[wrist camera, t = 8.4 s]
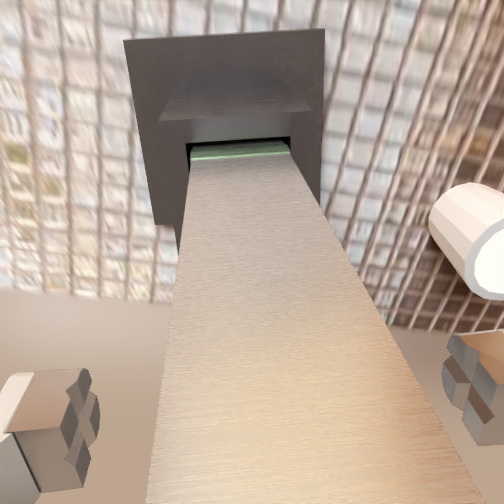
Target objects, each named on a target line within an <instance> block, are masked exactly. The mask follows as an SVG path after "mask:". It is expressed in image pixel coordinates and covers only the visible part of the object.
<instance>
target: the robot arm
mask: <svg viewBox="0 0 504 504" xmlns="http://www.w3.org/2000/svg"><path fill="white" fill-rule="evenodd" d="M447 349H448V350H449V352H450V353H451V356H450V357H449V358H448V359H447V360H446V361H445V362H444V363H443V368H442V381H443V387H444V390H445V392H446V395H447V397H448V398H449V400H450V402H451V403H452V404H453V405H454V406H456V407H457V408H459V409H460V410H462V411H464V413H463V418H462V421H463V423H464V424H465V426H466V428H467V429H468V431H469V432H470V434H471V436H472V437H473V439H474V440H475V442H476V444H477V445H478V446H488V445H500V444H501V445H502V444H504V329H497V330H490V331H480V332H470V333H459V334H452V336H451V337H450V338H449V341H448V345H447ZM91 382H92V380H91V377H90V374H89V371H88V370H87V369H85V368H77V369H63V370H49V371H38V372H26V373H15V374H13V375H12V376H10V377H9V378H8V380H7V382H6V384H5V385H4V387H3V389H2V391H1V392H0V504H34V503H35V502H36V501H37V500H38V498H39V497H40V493H47V492H54V491H61V490H69V489H77V488H83V485H84V482H85V478H86V475H87V471H88V467H89V464H90V460H91V457H90V453H89V450H88V447H89V446H90V445H91V444H92V443H93V442H94V441H95V440H96V438H97V434H98V430H99V422H100V410H99V403H98V399H97V396H96V395H95V394H93V393H92V392H91V391H89V389H90V385H91Z"/></svg>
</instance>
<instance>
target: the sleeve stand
mask: <svg viewBox="0 0 504 504" xmlns="http://www.w3.org/2000/svg"><path fill="white" fill-rule="evenodd" d="M123 42H124V48H125V54H126V60H127V65H128V71H129V77H130V83H131V89H132V95H133V100H134V106H135V112H136V118H137V124H138V129H139V135H140V141H141V147H142V153H143V159H144V164H145V170H146V176H147V182H148V188H149V193H150V199H151V205H152V211H153V217H154V222H155V225H161V224H174V230H175V237H176V243H177V250H178V256H179V249H180V241H181V234H182V227H183V219H184V212H185V204H186V197H187V189H188V182H189V175H190V167H191V161H190V156H191V150H193V145H194V142H208V141H223V140H237V139H252V138H267V137H281V139H282V140H283V142H284V144H287V146H288V148H289V150H290V151H291V156H292V158H293V160H294V162H295V164H296V165H297V167H298V169H299V171H300V173H301V174H302V176H303V178H304V180H305V181H306V183H307V185H308V187H309V189H310V190H311V192H312V194H313V196H314V197H315V199H316V201H317V203H318V205H319V206H320V175H321V142H322V109H323V76H324V43H325V29H322V28H313V29H295V30H277V31H259V32H242V33H224V34H206V35H188V36H171V37H153V38H135V39H126V40H123Z"/></svg>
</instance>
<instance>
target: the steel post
mask: <svg viewBox="0 0 504 504" xmlns="http://www.w3.org/2000/svg"><path fill="white" fill-rule="evenodd" d="M190 161H191V167H190V175H189V182H188V189H187V197H186V204H185V212H184V219H183V227H182V234H181V241H180V249H179V256H178V264H177V271H176V279H175V286H174V293H173V301H172V308H171V317H170V323H169V331H168V338H167V345H166V353H165V360H164V368H163V375H162V383H161V390H160V397H159V405H158V412H157V420H156V427H155V435H154V442H153V449H152V458H151V464H150V472H149V480H148V487H147V495H146V502H145V504H486V502H485V501H484V499H483V497H482V495H481V494H480V492H479V490H478V488H477V486H476V485H475V483H474V481H473V479H472V477H471V476H470V474H469V472H468V470H467V468H466V467H465V465H464V463H463V461H462V460H461V458H460V456H459V454H458V452H457V451H456V449H455V447H454V445H453V444H452V442H451V440H450V438H449V436H448V435H447V433H446V431H445V429H444V427H443V426H442V424H441V422H440V420H439V419H438V417H437V415H436V413H435V411H434V410H433V408H432V406H431V405H430V403H429V401H428V399H427V397H426V395H425V394H424V392H423V390H422V388H421V387H420V385H419V383H418V381H417V379H416V378H415V376H414V374H413V372H412V370H411V369H410V367H409V365H408V363H407V362H406V360H405V358H404V356H403V354H402V353H401V351H400V349H399V347H398V346H397V344H396V342H395V340H394V338H393V337H392V335H391V333H390V331H389V329H388V328H387V326H386V324H385V322H384V320H383V319H382V317H381V315H380V313H379V312H378V310H377V308H376V306H375V304H374V303H373V301H372V299H371V297H370V296H369V294H368V292H367V290H366V288H365V287H364V285H363V283H362V281H361V279H360V278H359V276H358V274H357V272H356V271H355V269H354V267H353V265H352V263H351V262H350V260H349V258H348V256H347V255H346V253H345V251H344V249H343V247H342V246H341V244H340V242H339V240H338V238H337V237H336V235H335V233H334V231H333V230H332V228H331V226H330V224H329V222H328V221H327V219H326V217H325V215H324V214H323V212H322V210H321V208H320V206H319V205H318V203H317V201H316V199H315V197H314V196H313V194H312V192H311V190H310V189H309V187H308V185H307V183H306V181H305V180H304V178H303V176H302V174H301V173H300V171H299V169H298V167H297V165H296V164H295V162H294V160H293V158H292V156H291V151H290V150H289V148H288V146H287V144H284V142H283V140H282V139H281V137H267V138H252V139H237V140H223V141H208V142H194V145H193V150H191V156H190Z"/></svg>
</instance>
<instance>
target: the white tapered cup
mask: <svg viewBox="0 0 504 504" xmlns="http://www.w3.org/2000/svg"><path fill="white" fill-rule="evenodd" d="M428 228H429V232H430V233H431V235H432V237H433V239H434V240H435V242H436V243H437V245H438V246H439V247H440V249H441V250H442V251H443V253H444V254H445V256H446V257H447V258H448V260H449V261H450V262H451V264H452V265H453V267H454V268H455V269H456V271H457V272H458V273H459V275H460V276H461V277H462V279H463V280H464V282H465V283H466V284H467V286H468V287H469V288H470V290H471V291H472V292H474V293H476V294H477V295H479V296H480V297H482V298H484V299H491V300H499V301H502V300H504V193H501V192H499V191H497V190H494V189H492V188H490V187H488V186H485V185H483V184H477V183H466V184H462V185H458V186H455V187H453V188H452V189H450V190H449V191H447V192H445V193H444V194H443V195H442V196H441V197H440V198H439V199H438V200H437V202H436V203H435V204H434V205H433V207H432V210H431V212H430V215H429V217H428Z"/></svg>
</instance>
